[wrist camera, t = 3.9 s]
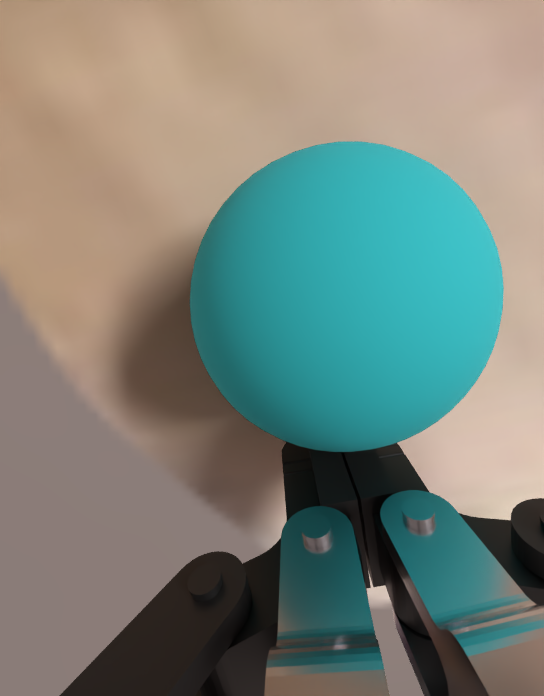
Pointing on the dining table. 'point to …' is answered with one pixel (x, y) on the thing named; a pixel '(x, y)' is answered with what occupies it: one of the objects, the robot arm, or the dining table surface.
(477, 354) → the ball
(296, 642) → the robot arm
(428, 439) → the dining table surface
